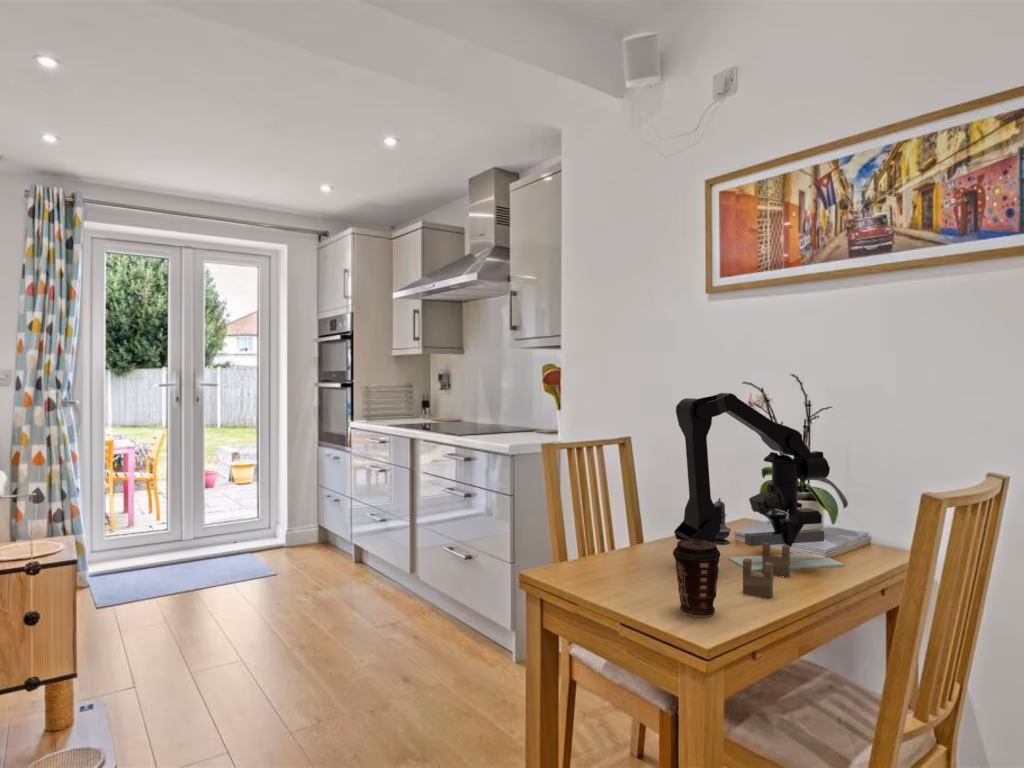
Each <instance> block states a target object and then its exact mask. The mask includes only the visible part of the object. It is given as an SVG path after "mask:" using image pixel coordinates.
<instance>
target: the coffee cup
mask: <svg viewBox="0 0 1024 768" xmlns="http://www.w3.org/2000/svg"><path fill="white" fill-rule="evenodd" d="M672 556H673V558H674V560H675V567H676V566H677V567H676V578H677V579H676V580H677V586H678V588H677V589H678V595H679V602H680V606H679V610H681V611H680V612H681V613H682V614H683V613H684V614H683V615H685V614H686V615H685V616H687V615H690V616H689V617H691V616H697V617H696V618H707V617H711V616H714V614H715V611H716V610H715V606H714V602H715V599H716V597H717V591H718V590H717V589H718V580H719V563H720V559H721V558H720V557H721V552H720V550H719V549H718V547H717V544H714V543H711V542H709V541H706V540H703V541H701V540H698V539H696V540H694V539H689V540H682V541H680V540H677V542H676V547H674V549H673V552H672Z"/></svg>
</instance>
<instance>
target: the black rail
mask: <svg viewBox="0 0 1024 768" xmlns="http://www.w3.org/2000/svg"><path fill="white" fill-rule="evenodd" d="M764 542H769V543H770V546H772V545H773V546H774V545H775V546H776V545H780V544H781V545H786V543H785V532H784V531H778V532H775V531H766V532H751V533H744V544H745V545H747V546H750V547H761V546H762V544H763V543H764ZM817 542H818V543H819V542H825V531H824V530H823V529H822V530H821V529H819V528H812V529H810V528H809V529H801V530H800V532H799V533H798V535H797V537H796V539H795V540H794V542H793V544H804V543H817Z"/></svg>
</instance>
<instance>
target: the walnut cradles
mask: <svg viewBox="0 0 1024 768" xmlns="http://www.w3.org/2000/svg"><path fill="white" fill-rule="evenodd" d="M781 553H782V557H781V556H775V555H776V554H771V545H770V543H769V542H764V543H763V544H762V552H761V556H762V571H761V572H762V574H760V573H757V572H756V573H755V572H752V559H747V558H745V559H744V560H743V568H742V594H743V593H744V594H743V595H748V594H749V595H750V596H753V595H755V597H759V596H761V597H760V598H764V597H767V598H766V599H769V598H771V597H772V598H773V597H774V575H777V576H776V577H779V576H784V577H783V578H785V577H788V578H789V577H790V576H791V575H790V574H791V569H790V554H791V547H790V545H786V544H782V546H781ZM789 575H790V576H789ZM772 598H771V599H772Z"/></svg>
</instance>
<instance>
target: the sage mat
mask: <svg viewBox="0 0 1024 768" xmlns="http://www.w3.org/2000/svg"><path fill="white" fill-rule="evenodd" d="M774 555H775V556H781V557H782V554H774ZM745 558H747V559H752V573H755V572H756V573H757V572H762V555H750V556H749V555H747V556H746V555H745V556H732V557H731V556H730V557H727V560H728V561H730V562H731V563H733V564H736V565H737V566H739V567H741V568H742V569H743V560H744V559H745ZM836 567H837V568H838V567H839V568H841V567H845V563H842V562H840V561H837V560H835V559H833V558H831V557H828V558H824V559H822V558H815V557H810V556H804V555H800V554H799V553H790V570H801V569H800V568H807V569H821V568H822V569H823V568H836Z"/></svg>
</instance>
